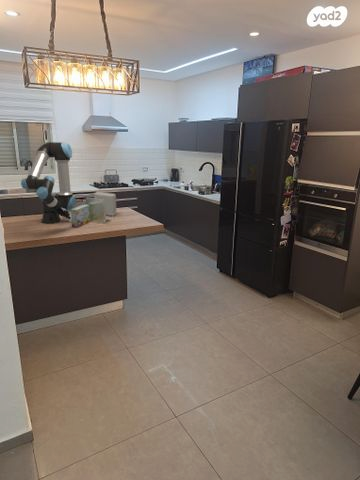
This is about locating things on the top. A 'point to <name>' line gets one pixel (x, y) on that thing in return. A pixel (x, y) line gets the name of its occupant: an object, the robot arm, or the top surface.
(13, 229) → the top surface
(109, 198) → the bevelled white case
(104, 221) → the frosted plastic container
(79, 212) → the snack box
